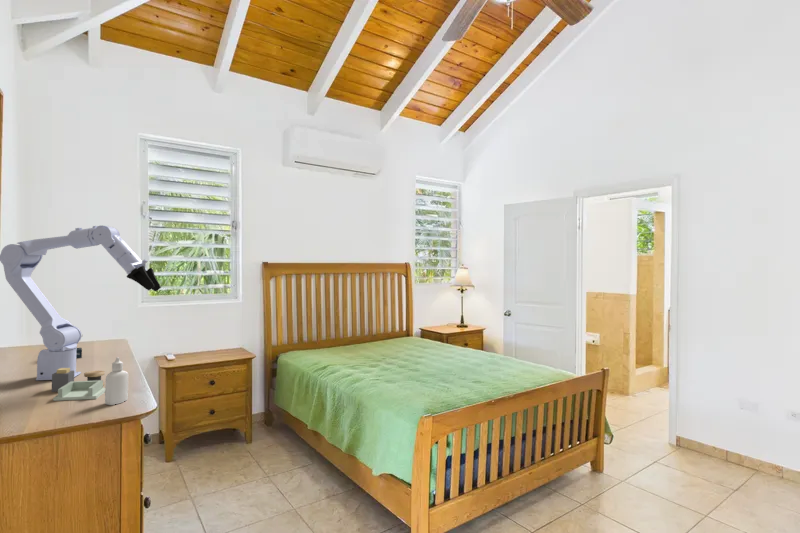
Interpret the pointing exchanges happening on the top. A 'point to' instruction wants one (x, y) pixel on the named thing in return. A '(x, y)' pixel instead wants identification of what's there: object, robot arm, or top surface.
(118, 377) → the eye dropper bottle
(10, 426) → the top surface
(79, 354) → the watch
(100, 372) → the spool
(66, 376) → the plug
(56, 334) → the robot arm
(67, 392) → the notched board
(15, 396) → the top surface
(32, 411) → the top surface
